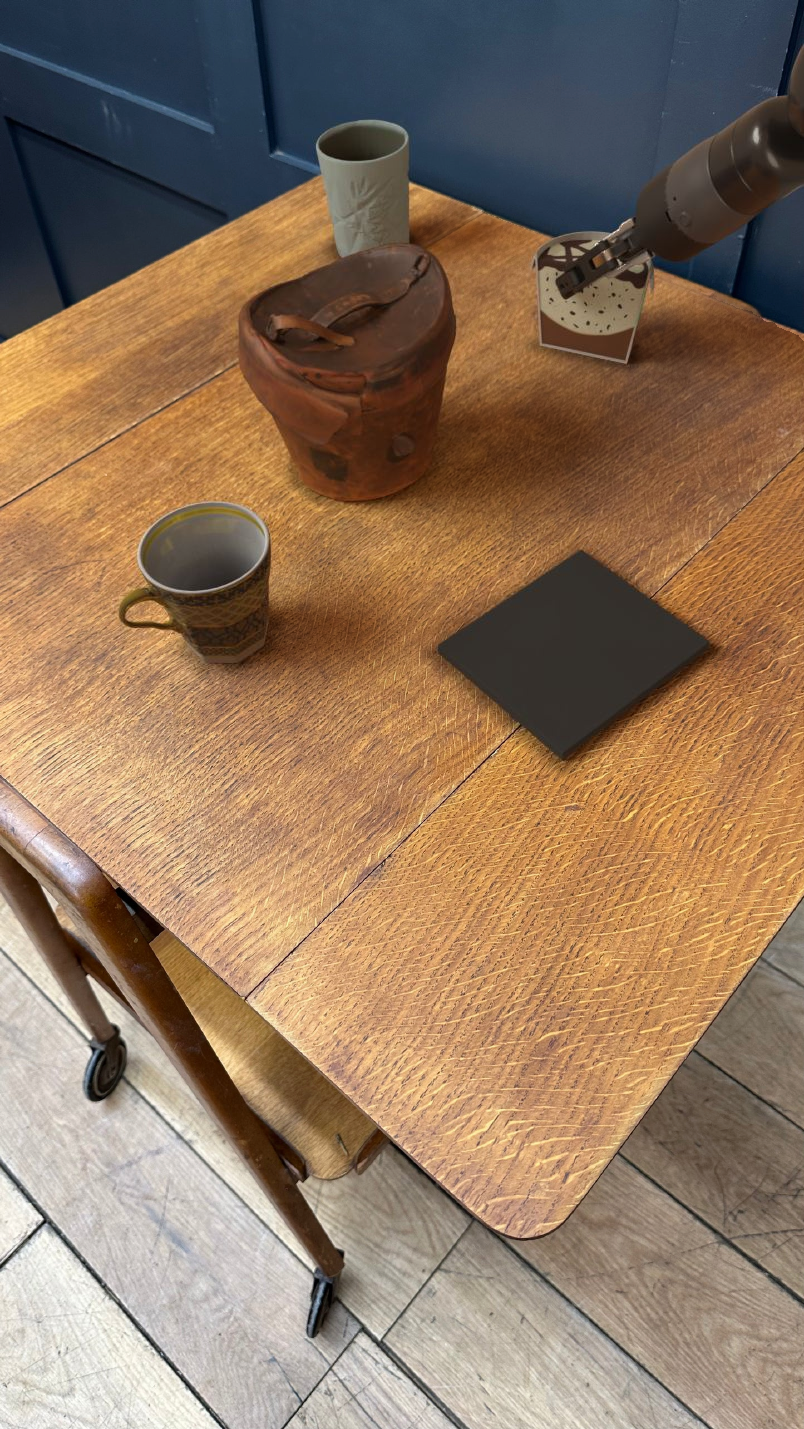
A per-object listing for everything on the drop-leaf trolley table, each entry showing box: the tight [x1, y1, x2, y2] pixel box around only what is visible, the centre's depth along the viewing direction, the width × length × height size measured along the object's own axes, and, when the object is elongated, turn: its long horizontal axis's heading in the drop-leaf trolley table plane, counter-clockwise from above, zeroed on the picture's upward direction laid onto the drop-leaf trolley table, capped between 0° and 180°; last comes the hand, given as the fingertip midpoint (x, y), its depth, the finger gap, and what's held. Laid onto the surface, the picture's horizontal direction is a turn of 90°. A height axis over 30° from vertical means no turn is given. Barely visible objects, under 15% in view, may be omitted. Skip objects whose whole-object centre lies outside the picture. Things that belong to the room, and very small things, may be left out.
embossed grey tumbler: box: [315, 119, 410, 258], centre depth 116 cm, size 10×10×12 cm
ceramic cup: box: [118, 500, 272, 664], centre depth 80 cm, size 13×10×10 cm
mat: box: [437, 549, 711, 761], centre depth 81 cm, size 16×14×1 cm
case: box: [237, 242, 457, 502], centre depth 90 cm, size 18×20×18 cm
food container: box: [529, 231, 656, 365], centre depth 103 cm, size 12×6×10 cm, turn 65°
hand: (592, 272), depth 102 cm, fingers open, 8 cm apart
